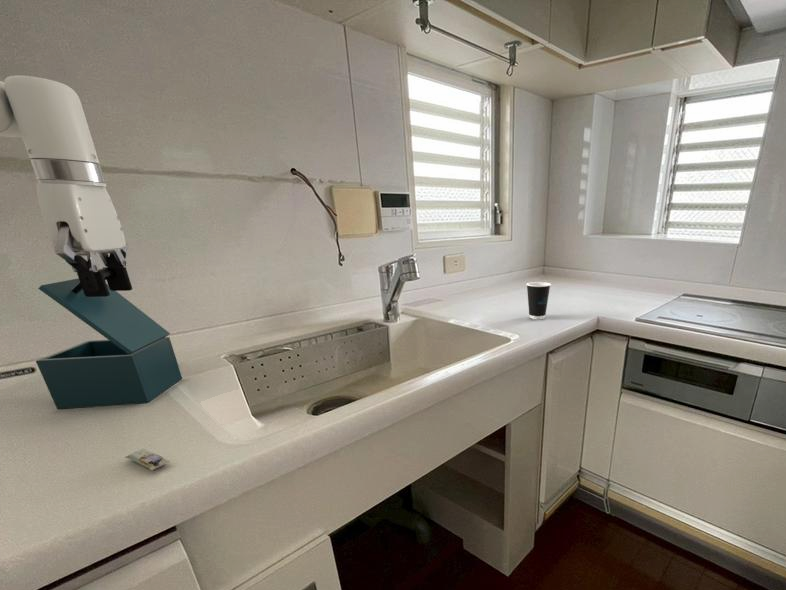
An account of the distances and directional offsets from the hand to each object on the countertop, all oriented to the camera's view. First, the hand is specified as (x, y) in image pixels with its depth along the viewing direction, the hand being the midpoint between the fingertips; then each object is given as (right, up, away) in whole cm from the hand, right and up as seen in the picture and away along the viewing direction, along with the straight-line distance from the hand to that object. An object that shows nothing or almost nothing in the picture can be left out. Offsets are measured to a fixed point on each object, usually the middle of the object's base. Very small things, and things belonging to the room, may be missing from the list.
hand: (109, 292), depth 69 cm
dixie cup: (+79, +5, +64) cm, 102 cm away
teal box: (-3, -18, +6) cm, 19 cm away
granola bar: (+20, -26, -15) cm, 36 cm away
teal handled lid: (-1, -4, +1) cm, 4 cm away
